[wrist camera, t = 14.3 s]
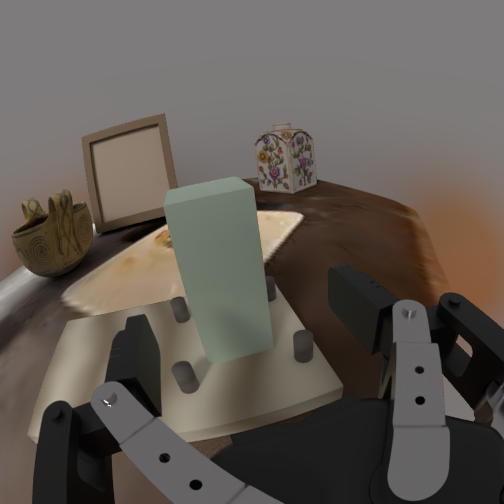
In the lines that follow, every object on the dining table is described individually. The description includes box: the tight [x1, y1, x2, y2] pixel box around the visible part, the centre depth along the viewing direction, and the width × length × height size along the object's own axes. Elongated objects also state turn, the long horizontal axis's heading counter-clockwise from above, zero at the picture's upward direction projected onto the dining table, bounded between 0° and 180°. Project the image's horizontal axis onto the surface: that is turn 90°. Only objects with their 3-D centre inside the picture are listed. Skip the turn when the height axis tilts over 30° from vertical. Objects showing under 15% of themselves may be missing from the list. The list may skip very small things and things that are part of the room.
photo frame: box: [82, 114, 178, 234], centre depth 62 cm, size 15×22×25 cm
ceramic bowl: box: [11, 189, 93, 277], centre depth 41 cm, size 22×17×15 cm
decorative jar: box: [255, 123, 317, 194], centre depth 70 cm, size 12×12×18 cm
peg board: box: [27, 276, 344, 444], centre depth 21 cm, size 24×16×4 cm, turn 105°
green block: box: [163, 176, 274, 365], centre depth 19 cm, size 5×5×12 cm
